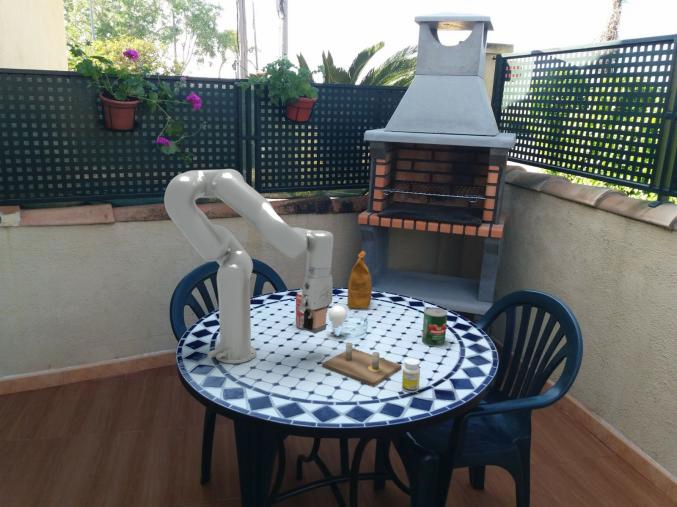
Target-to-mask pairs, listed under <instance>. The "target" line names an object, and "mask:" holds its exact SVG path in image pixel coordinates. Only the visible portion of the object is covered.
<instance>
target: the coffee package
mask: <svg viewBox="0 0 677 507" xmlns="http://www.w3.org/2000/svg"><path fill="white" fill-rule="evenodd" d="M357 255H358V258H357V261H356V262H355V264H354V265H353V267H352V269H351V273H350V277H349V280H348V287H347V308H348V309H350V310H352V309H362V310H363V309H365V310H366V309H369V308H370V306H371V305H370V304H371V301H372V292H373V290H372V289H373V288H372V287H373V285H372V275H371V273H370V269H369V268H368V265H366V263H365V256H366V255H367V253H366V252H365V251H364V250H362V251H361V252H360V253H358V254H357Z"/></svg>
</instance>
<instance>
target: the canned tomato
mask: <svg viewBox="0 0 677 507" xmlns="http://www.w3.org/2000/svg"><path fill="white" fill-rule="evenodd" d="M447 320H448V311H447V310H445V309H443V308H439V307H438V308H437V307H428V308H425V309H423V320H422V321H423V323H422V335H421V342H422V344H424V345H426V346H429V347H435V346H437V347H442V346H444V345H445V344H446V332H447Z"/></svg>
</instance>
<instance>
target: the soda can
mask: <svg viewBox="0 0 677 507" xmlns="http://www.w3.org/2000/svg"><path fill="white" fill-rule="evenodd" d="M302 290H303V289H301V290H299V291H297V292H296V296H295V325H296V327H297V328H298V329H301V330H303V329H302V324H303V320H304V316H303V314H302V313H301V312H300V311H299V310H298V308H299V306H300V304H301V303H302Z"/></svg>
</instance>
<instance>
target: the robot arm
mask: <svg viewBox="0 0 677 507" xmlns="http://www.w3.org/2000/svg"><path fill="white" fill-rule="evenodd" d="M244 179H245V178H244V177H243V175H242V174H241V173H240V172H239V170H236V169H233V168H225V169H223V168H222V169H197V170H189V171H185V172H183V173H179V174H178V175H176V176H175V177H173V178H172V179H171V180H170V182H169V183H168V185H167V187H166V190H165V192H164V196H163V197H164V198H163V200H164V202H163V203H164V207H165V211H166V213H167V215H168V216H169V218H170V219H171V221H172V222H173V223H174V224H175V226H176V227H177V228H178V229H179V230H180V232H181V233H182V234H183V236H184V237H185V239H186V240H187V241H188V242H189V243H190V245H191V246H192V247H193V249H195V251H196V252H197V254H198V255H199V256H200V257H201V258H202V259H203V260H205V261H208V262H216V263H217V264H218V265H219V267H218V270H217V274H216V286H217V295H218V318H219V320H218V321H219V322H218V323H219V343H218V344H217V345H216V347H217V348H215V349H214V350H210V351H208V352H207V357H208V358H209V359H212V358H216V360H217V361H219V362H221V363H225V364H234V365H235V364H242V363H246V362H250V361H251V360H253V359H254V358H255V357H256V356H257V351H256V349H255V347H253V346H252V332H251V331H252V330H251V329H252V325H251V324H252V323H251V321H252V320H251V290H250V289H251V288H250V278H251V275H252V273H253V269H254V264H253V260H252V258H251V257H250V255H249V254H248V252H247V251H246V250H245V248H244V247H243V246H242V245H241V244H240V242H239V240H237V239H236V236H234V235H233V233H232V232H231V231H229V229H228V228H226V227H224V226H223V225H219V224H213V223H212V222H211V221H210V219H209V218H208V217H207V215H206V214H205V213H204V212H203V211H202V209H200V207H198V205H197V203H196V201H197V200H198V199H201V198H216V197H217V198H218V199H219V200H221V201H222V202H223V203H224V204H226V205H227V206H228V207H229V208H231V209H232V210H233V211H235V213H237V214H238V215H239V216H241V217H242V218H243V219H244V220H246V221H247V222H248V223H249V224H250V225H251V226H252V227H253V228H254V229H255V230H256V231H257V232H258V233H259V234H260V235H261V237H263V238H264V239H265V240H266V241H267V242H268V243H269V244H270V245H272V246H273V247H274V248H275V249H277V251H279V252H280V253H282V254H283V255H285V257H288V258H291V259H298V258H301V257H303V256H304V255H305V254H306V253H307V255H306V266H305V268H306V269H305V276H304V280H303V285H302V289H301V290H302V303H301V304H300V306H299V308H298V310H299V311H300V312H301V313H302V314H303V316H304V326H303V327H304V328H306V329H308V330H312V327H313V318H312V315H313V311H314V310H317V309H320V308H323V307H324V308H327V310H329V307H330V305H331V304H332V302H333V295H334V294H333V277H332V276H333V275H332V274H331V272H332V261H333V260H332V259H333V248H334V234H333V233H332V232H330V231H328V230H327V231H326V230H321V229H318V230H317V229H315V230H312V229H308V228H302V227H297V226H296V227H295V226H294V227H291V226H290V225H288V224H287V222H285V221H284V220H283V219H282V218H281V217H280V215H278V214H277V213H276V210H275V209H274V208H273V206H272V204H271V203H270V201H269V200H268V199H267V198H266V197H264V196H263V195H261V193H259V192H258V191H257V190H256V189H254V188H253V187H252V186H250V185H249V184H248V183H247V182H246V181H245V180H244ZM308 306H309V307H308ZM308 309H310V312H308Z"/></svg>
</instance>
